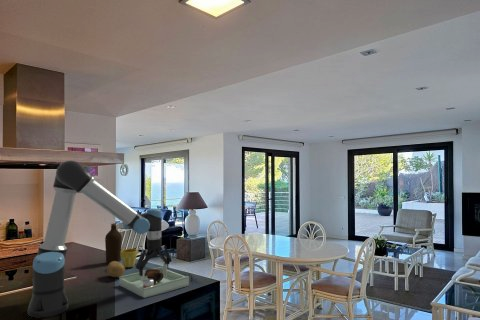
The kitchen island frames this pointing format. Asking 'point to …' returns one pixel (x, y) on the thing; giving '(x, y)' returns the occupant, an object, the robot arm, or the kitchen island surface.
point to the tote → (165, 285)
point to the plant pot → (129, 257)
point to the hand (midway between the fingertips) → (154, 278)
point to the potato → (115, 269)
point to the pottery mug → (154, 275)
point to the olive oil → (113, 244)
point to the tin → (148, 283)
